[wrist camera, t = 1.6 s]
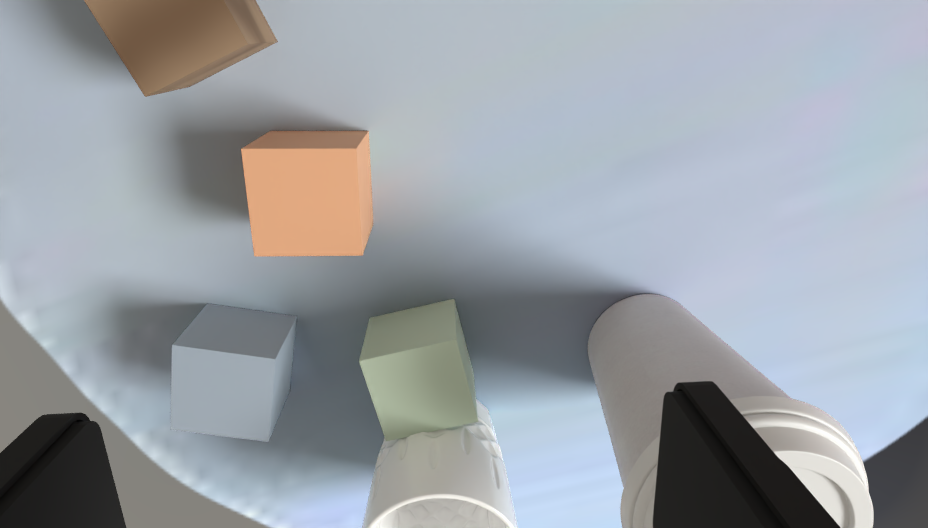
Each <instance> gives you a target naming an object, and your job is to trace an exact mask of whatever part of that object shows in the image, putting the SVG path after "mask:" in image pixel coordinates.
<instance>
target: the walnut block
mask: <svg viewBox="0 0 928 528" xmlns="http://www.w3.org/2000/svg"><path fill="white" fill-rule="evenodd" d="M84 1H85V3H86V4H87V6H88V7H89V9H90V11H91V12H92V14H93V15H94V17H95V18H96V20H97V22H98V23H99V25H100V26H101V28H102V29H103V31H104V33H105V34H106V36H107V37H108V39H109V41H110V42H111V44H112V45H113V47H114V48H115V50H116V52H117V53H118V55H119V56H120V58H121V59H122V61H123V63H124V64H125V66H126V67H127V69H128V70H129V72H130V74H131V75H132V77H133V78H134V80H135V82H136V83H137V85H138V86H139V88H140V89H141V91H142V93H143V94H144V96H145V97H147V96H151V95H155V94H160V93H164V92H169V91H173V90H177V89H182V88H186V87H190V86H192V85H194V84H196V83H198V82H200V81H202V80H204V79H206V78H208V77H210V76H212V75H214V74H216V73H217V72H219V71H221V70H223V69H225V68H227V67H229V66H231V65H233V64H235V63H237V62H239V61H241V60H243V59H245V58H247V57H249V56H251V55H253V54H255V53H257V52H259V51H260V50H262V49H264V48H266V47H268V46H270V45H272V44H274V43H276V42H278V41H277V39H276V38H275V36H274V34H273V32H272V30H271V28H270V26H269V25H268V23H267V21H266V19H265V17H264V15H263V13H262V12H261V10H260V8H259V6H258V4H257V2H256V1H255V0H84Z"/></svg>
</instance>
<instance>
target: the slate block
mask: <svg viewBox="0 0 928 528" xmlns="http://www.w3.org/2000/svg"><path fill="white" fill-rule="evenodd" d="M296 322H297V316H292V315H285V314H278V313H271V312H264V311H257V310H250V309H243V308H236V307H229V306H223V305H216V304H209V303H207V304H206V306H205V307H204V308H203V309H202V310H201V311H200V313H199V314H198V315H197V316H196V317H195V319H194V320H193V321H192V322H191V323H190V324H189V326H188V327H187V328H186V329H185V330H184V331H183V333H182V334H181V335H180V336H179V337H178V338H177V340H176V341H175V342H174V343H173V344H172V368H171V428H170V430H176V431H184V432H192V433H200V434H208V435H216V436H224V437H232V438H240V439H248V440H256V441H264V442H269V440H270V437H271V435H272V432H273V430H274V428H275V425H276V423H277V420H278V418H279V416H280V413H281V411H282V409H283V406H284V404H285V401H286V399H287V397H288V394H289V392H290V385H291V375H292V364H293V354H294V343H295V332H296Z"/></svg>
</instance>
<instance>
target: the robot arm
mask: <svg viewBox="0 0 928 528" xmlns="http://www.w3.org/2000/svg"><path fill="white" fill-rule="evenodd" d="M0 528H126V525H125V522H124V518H123V513H122V510H121V506H120V502H119V498H118V494H117V491H116V487H115V483H114V479H113V475H112V471H111V467H110V464H109V460H108V456H107V452H106V448H105V444H104V441H103V437H102V433H101V429H100V427H99V425H98V424H97V423H96V422H94V421H90V420H89V418H88V417H87V416H86V415H85V414H83V413H67V414H47V415H42V416H41V417H39V418H38V419H37V420H35V421H34V422H33V423H32V424H31V425H30V426H29V427H28V428H27V429H26V430H25V431H24V432H23V433H21V434H20V435H19V436H18V437H17V438H16V439H15V440H14V441H13V442H12V443H11V444H10V445H9V446H7V447H6V448H5V449H4V450H3V451H2V452H1V453H0ZM653 528H841V527H840V526H839V525H838V524H837V523H836V522H835V520H834V519H833V518H832V517H831V516H830V515H829V513H828V512H827V511H826V510H825V509H824V507H823V506H822V505H821V504H820V503H819V502H818V500H817V499H816V498H815V497H814V496H813V495H812V493H811V492H810V491H809V490H808V489H807V488H806V486H805V485H804V484H803V483H802V482H801V481H800V479H799V478H798V477H797V476H796V475H795V474H794V472H793V471H792V470H791V469H790V468H789V467H788V466H787V465H786V464H785V463H784V462H783V461H782V460H780V459H779V458H778V457H777V455H776V454H775V453H774V452H773V451H772V450H771V448H770V447H769V446H768V445H767V444H766V442H765V441H764V440H763V439H762V438H761V437H760V435H759V434H758V433H757V432H756V431H755V430H754V428H753V427H752V426H751V425H750V424H749V422H748V421H747V420H746V419H745V418H744V417H743V415H742V414H741V413H740V412H739V411H738V409H737V408H736V407H735V406H734V405H733V404H732V402H731V401H730V400H729V399H728V398H727V397H726V395H725V394H724V393H723V392H722V391H721V389H720V388H719V387H718V386H717V385H716V384H715V383H714V382H713V381H699V382H679V383H677V384H676V385H675V387H674V390H673V392H666V393H665V395H664V399H663V409H662V420H661V431H660V443H659V454H658V465H657V476H656V488H655V499H654V510H653Z"/></svg>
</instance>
